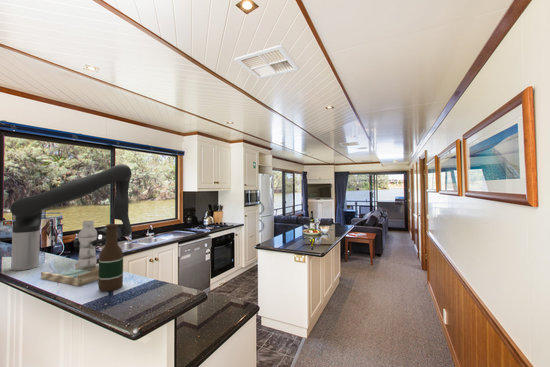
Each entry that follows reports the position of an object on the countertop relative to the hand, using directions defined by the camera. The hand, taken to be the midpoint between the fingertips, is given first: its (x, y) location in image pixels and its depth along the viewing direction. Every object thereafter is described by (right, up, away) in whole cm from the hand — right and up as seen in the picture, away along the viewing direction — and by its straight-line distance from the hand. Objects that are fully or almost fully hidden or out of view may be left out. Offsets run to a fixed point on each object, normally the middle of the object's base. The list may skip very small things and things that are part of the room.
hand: (84, 244), depth 102 cm
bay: (-6, -15, +4) cm, 17 cm away
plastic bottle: (-1, -11, +2) cm, 11 cm away
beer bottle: (+16, -15, -8) cm, 23 cm away
